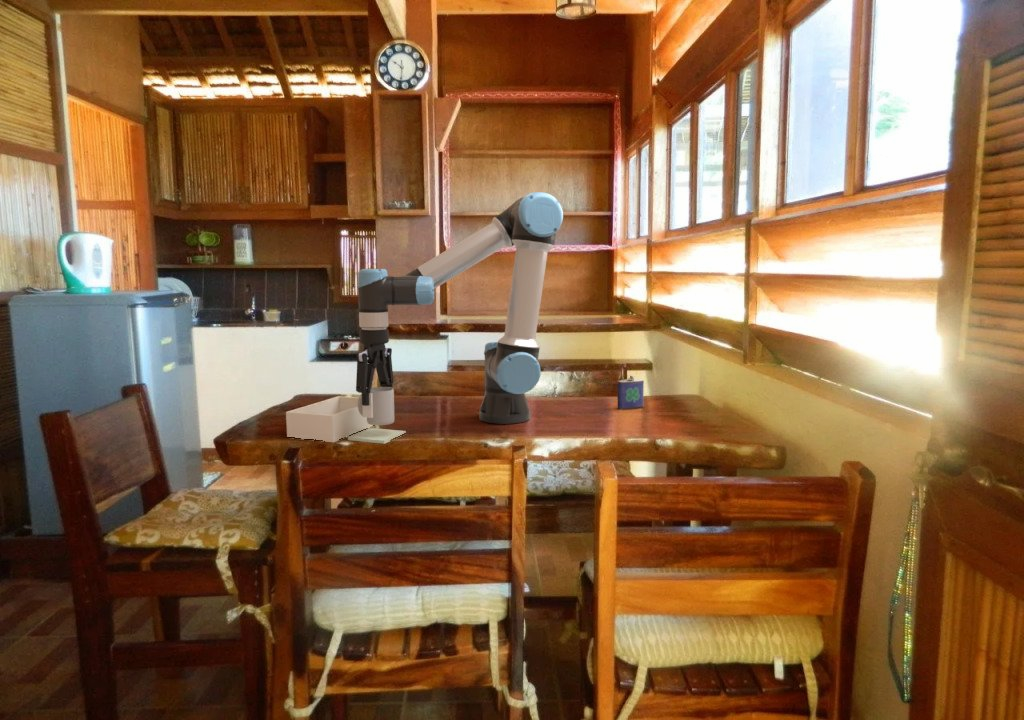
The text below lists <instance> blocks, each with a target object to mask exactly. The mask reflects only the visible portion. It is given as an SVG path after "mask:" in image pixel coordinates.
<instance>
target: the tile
mask: <svg viewBox="0 0 1024 720" xmlns="http://www.w3.org/2000/svg"><path fill="white" fill-rule="evenodd" d="M404 433H406V434H407V432H406V430H397V429H388V428H387V429H385V428H377V427H376V428H375V427H371V428H368V429H366V430H363V431H361V432H358V433H356V434H353V435H351V436H348V437H347V441H353V442H361V443H362V442H364V443H374V444H383V445H385V444H387V443H389V442H391V441H390V440H391V439H393V438H395V437H398V436H400V435H402V434H404ZM400 437H401V436H400ZM398 438H399V437H398Z"/></svg>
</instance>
